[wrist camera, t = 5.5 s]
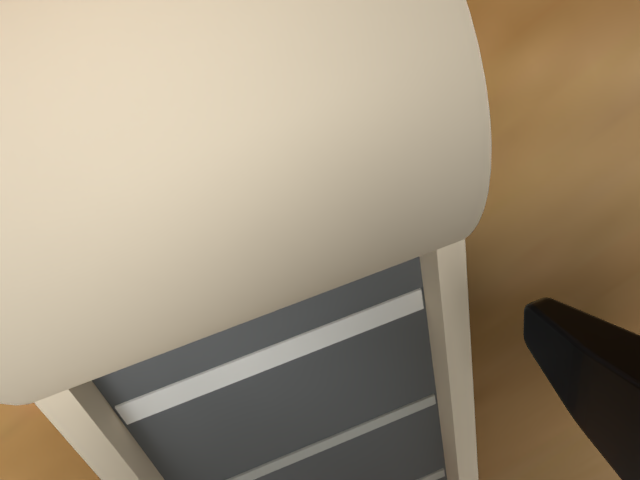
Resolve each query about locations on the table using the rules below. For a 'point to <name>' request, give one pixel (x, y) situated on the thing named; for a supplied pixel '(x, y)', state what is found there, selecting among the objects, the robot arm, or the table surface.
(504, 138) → the table surface
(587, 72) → the table surface
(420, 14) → the lane
